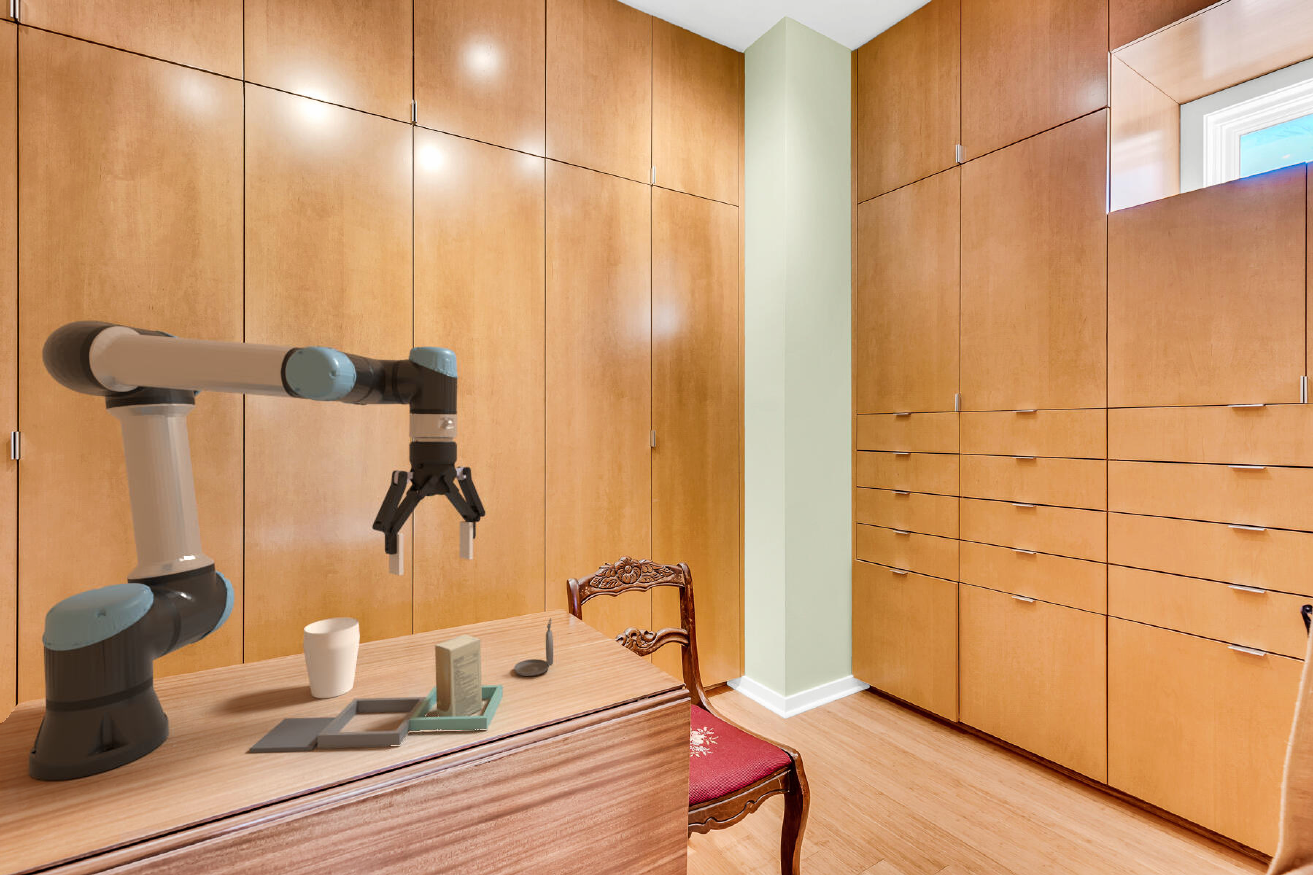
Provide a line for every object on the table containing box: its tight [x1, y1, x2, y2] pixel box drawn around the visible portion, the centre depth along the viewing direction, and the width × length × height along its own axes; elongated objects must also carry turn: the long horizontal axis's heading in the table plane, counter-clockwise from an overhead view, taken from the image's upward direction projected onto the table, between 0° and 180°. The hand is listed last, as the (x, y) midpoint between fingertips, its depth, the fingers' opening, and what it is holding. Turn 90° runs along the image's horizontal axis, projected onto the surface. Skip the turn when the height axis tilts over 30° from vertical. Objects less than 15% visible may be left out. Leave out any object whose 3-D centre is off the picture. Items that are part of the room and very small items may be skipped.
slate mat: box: [249, 716, 337, 753], centre depth 92 cm, size 9×9×1 cm
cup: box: [302, 617, 361, 699], centre depth 108 cm, size 9×9×12 cm
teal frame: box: [409, 684, 504, 731], centre depth 99 cm, size 12×12×2 cm
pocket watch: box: [513, 617, 554, 677], centre depth 117 cm, size 8×8×10 cm
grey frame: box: [317, 696, 427, 750], centre depth 95 cm, size 12×12×2 cm
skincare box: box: [434, 633, 483, 717], centre depth 99 cm, size 6×4×12 cm
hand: (433, 565), depth 100 cm, fingers open, 13 cm apart
